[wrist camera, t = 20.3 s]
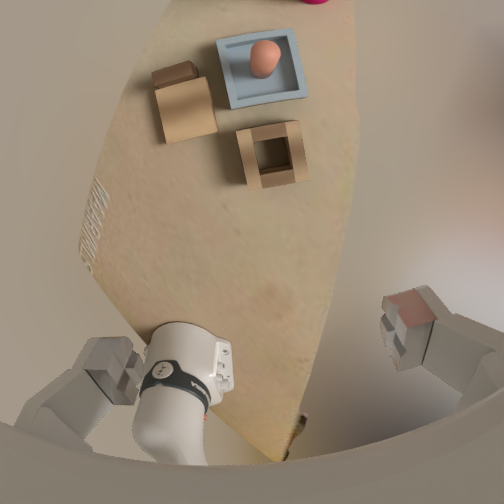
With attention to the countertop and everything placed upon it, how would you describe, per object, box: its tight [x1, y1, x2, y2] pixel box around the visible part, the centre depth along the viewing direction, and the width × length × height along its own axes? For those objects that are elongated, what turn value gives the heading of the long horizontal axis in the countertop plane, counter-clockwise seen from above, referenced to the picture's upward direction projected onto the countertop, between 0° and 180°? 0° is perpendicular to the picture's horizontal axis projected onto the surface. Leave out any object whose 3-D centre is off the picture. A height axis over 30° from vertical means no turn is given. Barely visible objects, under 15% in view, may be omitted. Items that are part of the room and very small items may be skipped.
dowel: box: [250, 40, 281, 79], centre depth 28 cm, size 3×3×10 cm
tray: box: [216, 28, 309, 110], centre depth 32 cm, size 10×10×3 cm
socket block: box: [236, 120, 309, 191], centre depth 37 cm, size 8×8×4 cm
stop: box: [152, 61, 199, 88], centre depth 31 cm, size 2×5×5 cm, turn 101°
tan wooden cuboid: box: [155, 76, 219, 144], centre depth 35 cm, size 8×7×2 cm
